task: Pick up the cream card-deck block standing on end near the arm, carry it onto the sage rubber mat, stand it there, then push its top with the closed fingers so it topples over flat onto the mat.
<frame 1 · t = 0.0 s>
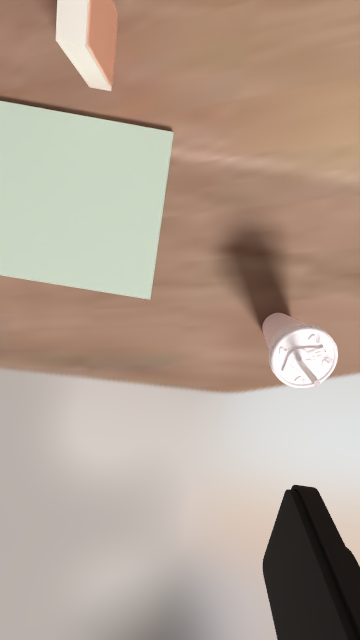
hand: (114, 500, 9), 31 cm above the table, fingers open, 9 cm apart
smoothie: (276, 326, 40), on the table
mat: (73, 206, 36), on the table
deck: (103, 51, 32), on the table
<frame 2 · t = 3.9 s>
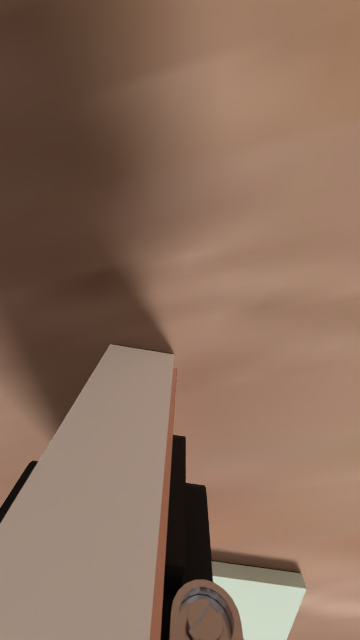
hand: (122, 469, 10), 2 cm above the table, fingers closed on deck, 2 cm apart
deck: (130, 428, 12), on the table, touching gripper
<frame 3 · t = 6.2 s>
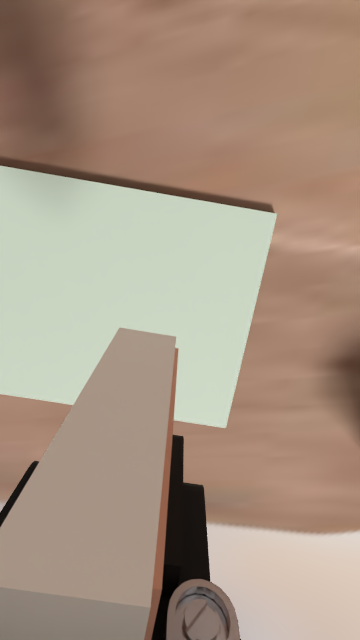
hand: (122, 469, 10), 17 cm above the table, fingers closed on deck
mat: (124, 309, 26), on the table
deck: (137, 403, 13), point 13 cm above the table, touching gripper
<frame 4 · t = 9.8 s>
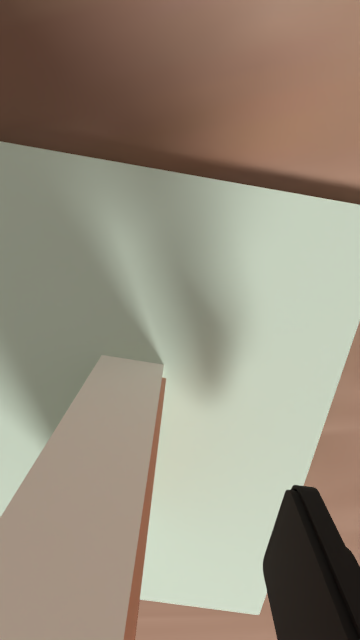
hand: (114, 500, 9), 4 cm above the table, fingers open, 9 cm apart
mat: (58, 407, 13), on the table
deck: (122, 436, 12), point 1 cm above the table, touching mat
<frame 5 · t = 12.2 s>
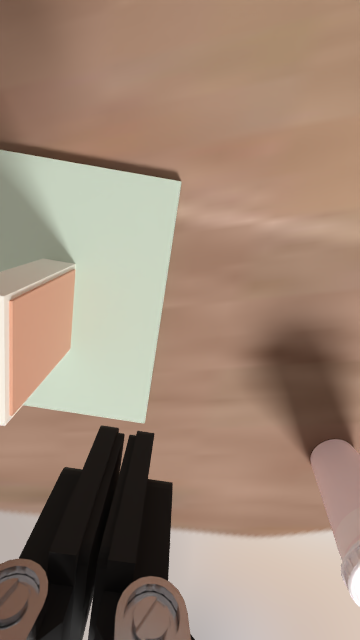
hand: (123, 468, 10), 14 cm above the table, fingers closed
smoothie: (331, 455, 27), on the table
mat: (23, 292, 23), on the table
deck: (57, 306, 23), point 1 cm above the table, touching mat
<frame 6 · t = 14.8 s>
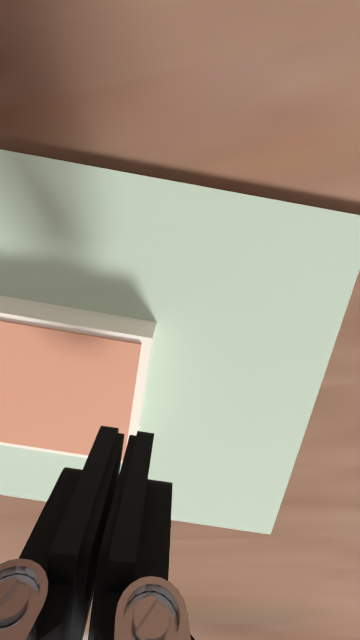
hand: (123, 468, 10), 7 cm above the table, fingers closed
mat: (121, 364, 17), on the table
deck: (144, 393, 15), point 2 cm above the table, tilted 90°, touching mat
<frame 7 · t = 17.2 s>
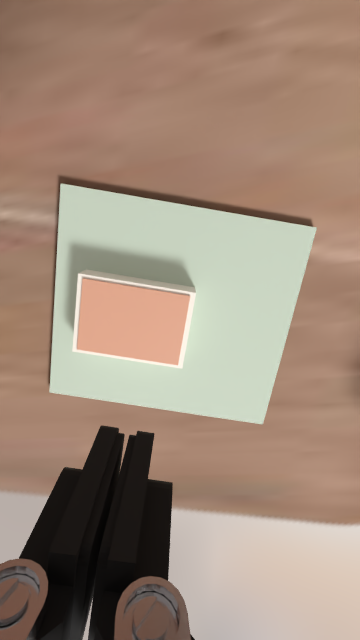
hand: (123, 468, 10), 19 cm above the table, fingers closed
mat: (172, 314, 28), on the table
deck: (188, 327, 27), point 2 cm above the table, tilted 90°, touching mat
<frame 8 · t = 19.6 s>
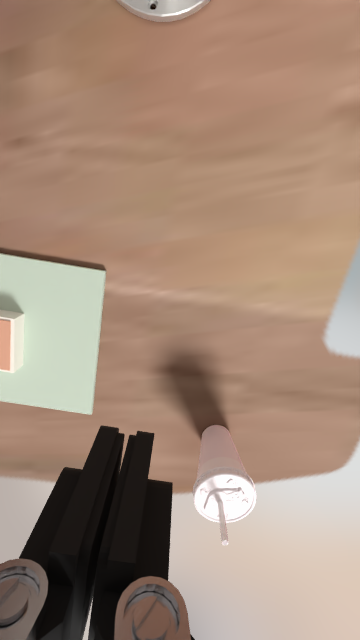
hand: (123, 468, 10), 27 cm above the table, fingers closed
smoothie: (216, 436, 42), on the table
mat: (13, 332, 38), on the table
deck: (19, 343, 36), point 2 cm above the table, tilted 90°, touching mat
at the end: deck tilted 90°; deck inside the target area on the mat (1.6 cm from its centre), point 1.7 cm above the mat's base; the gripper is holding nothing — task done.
